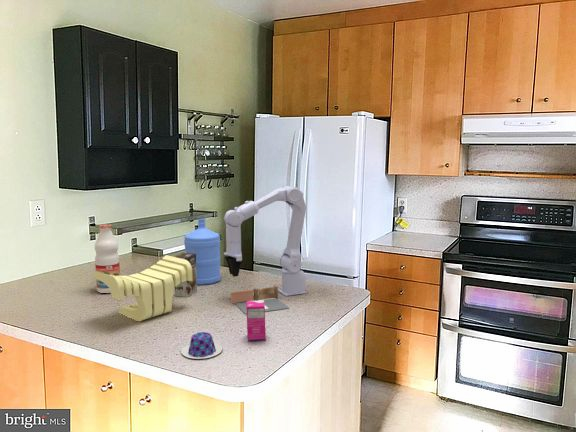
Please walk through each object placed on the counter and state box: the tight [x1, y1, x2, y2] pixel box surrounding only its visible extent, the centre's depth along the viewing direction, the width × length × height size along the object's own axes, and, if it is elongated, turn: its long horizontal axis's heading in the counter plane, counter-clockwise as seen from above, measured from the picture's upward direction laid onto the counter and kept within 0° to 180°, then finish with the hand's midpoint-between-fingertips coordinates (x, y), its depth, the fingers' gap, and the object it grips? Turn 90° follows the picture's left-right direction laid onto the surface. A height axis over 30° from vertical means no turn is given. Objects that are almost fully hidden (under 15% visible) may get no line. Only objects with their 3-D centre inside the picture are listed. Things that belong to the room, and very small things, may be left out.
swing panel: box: [230, 289, 254, 304], centre depth 184 cm, size 9×1×4 cm, turn 113°
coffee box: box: [173, 252, 198, 298], centre depth 195 cm, size 9×6×16 cm
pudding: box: [181, 331, 223, 360], centre depth 141 cm, size 12×12×5 cm
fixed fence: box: [252, 285, 279, 301], centre depth 188 cm, size 10×2×5 cm, turn 113°
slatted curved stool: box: [93, 254, 193, 322], centre depth 172 cm, size 30×16×18 cm, turn 140°
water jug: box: [183, 218, 222, 286], centre depth 213 cm, size 16×16×28 cm
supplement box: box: [246, 300, 267, 342], centre depth 150 cm, size 6×6×12 cm
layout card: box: [233, 294, 290, 316], centre depth 183 cm, size 17×19×1 cm
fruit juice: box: [94, 223, 121, 294], centre depth 198 cm, size 9×9×28 cm
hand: (234, 275), depth 187 cm, fingers open, 3 cm apart
